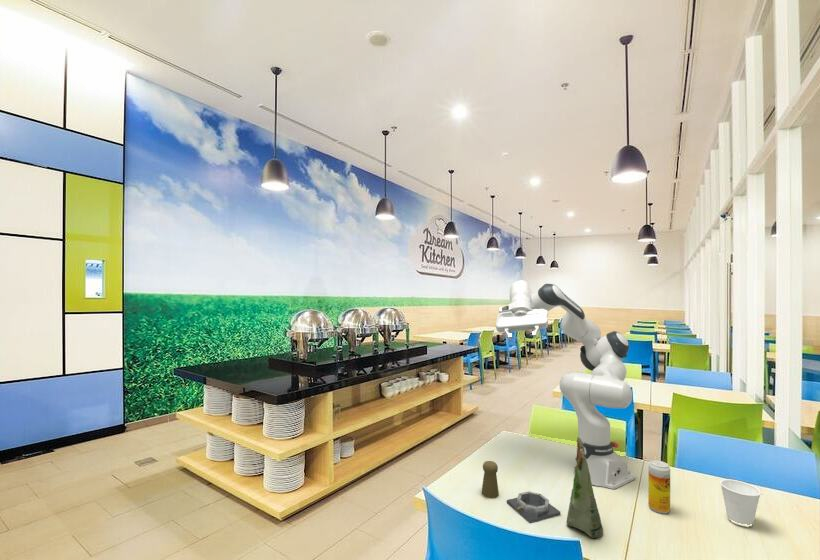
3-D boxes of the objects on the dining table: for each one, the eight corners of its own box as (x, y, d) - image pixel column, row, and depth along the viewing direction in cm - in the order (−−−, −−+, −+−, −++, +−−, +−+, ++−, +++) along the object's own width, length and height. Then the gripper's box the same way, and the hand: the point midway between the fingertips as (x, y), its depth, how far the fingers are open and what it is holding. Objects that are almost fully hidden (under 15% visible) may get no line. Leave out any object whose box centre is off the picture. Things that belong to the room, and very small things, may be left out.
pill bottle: (663, 516, 125) (663, 469, 126) (644, 506, 131) (644, 461, 131) (674, 511, 128) (674, 465, 128) (655, 502, 134) (655, 458, 134)
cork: (499, 499, 135) (499, 467, 135) (481, 497, 136) (481, 465, 136) (498, 490, 141) (498, 459, 141) (481, 488, 142) (481, 457, 142)
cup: (764, 536, 116) (764, 498, 116) (722, 525, 121) (722, 489, 121) (757, 519, 124) (757, 484, 125) (717, 509, 130) (717, 476, 130)
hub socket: (535, 496, 137) (535, 487, 137) (560, 515, 126) (560, 505, 126) (506, 502, 133) (506, 494, 133) (529, 523, 121) (529, 513, 121)
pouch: (585, 543, 112) (585, 455, 112) (554, 520, 123) (554, 440, 123) (612, 534, 117) (613, 449, 117) (580, 512, 127) (581, 435, 128)
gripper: (548, 313, 162) (551, 340, 152) (498, 318, 169) (497, 344, 159) (546, 303, 158) (549, 330, 148) (495, 308, 165) (494, 334, 155)
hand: (522, 337), depth 154 cm, fingers open, 8 cm apart
